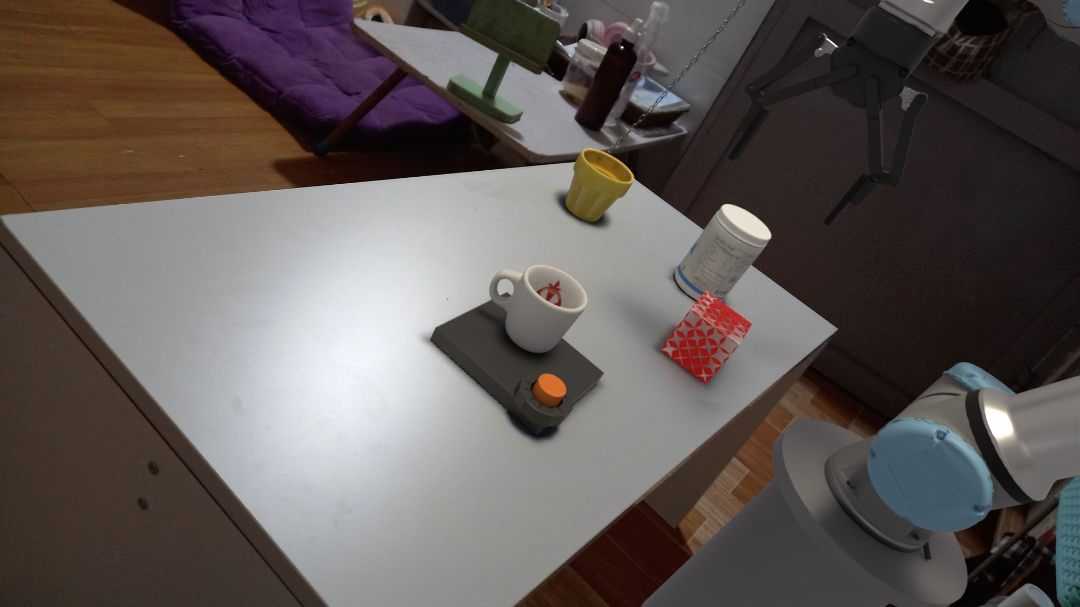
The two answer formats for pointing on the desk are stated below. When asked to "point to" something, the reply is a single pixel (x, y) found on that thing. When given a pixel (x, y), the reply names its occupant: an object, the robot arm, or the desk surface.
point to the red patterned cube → (706, 337)
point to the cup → (539, 305)
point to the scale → (514, 365)
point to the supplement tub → (722, 253)
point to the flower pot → (597, 184)
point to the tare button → (549, 390)
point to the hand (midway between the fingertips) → (778, 189)
